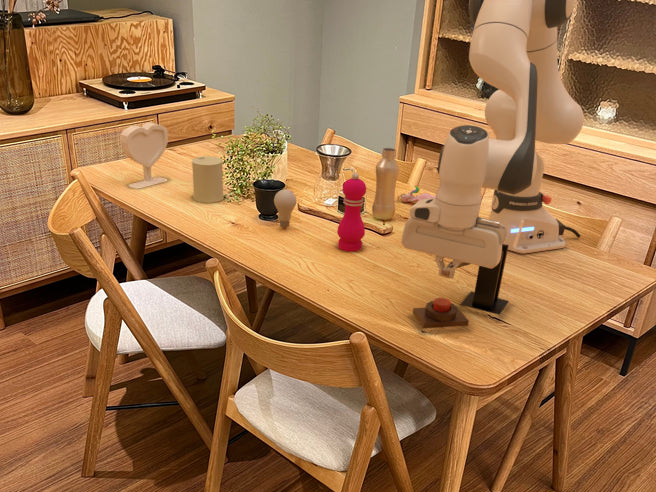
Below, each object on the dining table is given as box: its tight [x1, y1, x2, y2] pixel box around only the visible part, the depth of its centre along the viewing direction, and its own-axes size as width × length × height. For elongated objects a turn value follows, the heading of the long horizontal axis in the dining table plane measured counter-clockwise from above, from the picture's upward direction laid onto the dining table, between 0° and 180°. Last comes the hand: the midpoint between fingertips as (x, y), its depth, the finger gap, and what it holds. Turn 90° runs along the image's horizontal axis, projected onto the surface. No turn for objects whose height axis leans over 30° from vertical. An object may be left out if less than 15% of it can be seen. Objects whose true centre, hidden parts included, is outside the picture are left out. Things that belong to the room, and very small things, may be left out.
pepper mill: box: [336, 172, 367, 253], centre depth 181 cm, size 7×7×20 cm
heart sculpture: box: [119, 122, 169, 189], centre depth 220 cm, size 16×5×18 cm, turn 138°
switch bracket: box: [460, 244, 509, 316], centre depth 155 cm, size 9×8×15 cm
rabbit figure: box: [396, 185, 436, 203], centre depth 215 cm, size 6×6×15 cm
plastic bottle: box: [371, 147, 400, 221], centre depth 200 cm, size 6×7×20 cm
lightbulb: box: [273, 188, 297, 230], centre depth 193 cm, size 6×6×11 cm
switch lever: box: [445, 260, 471, 269], centre depth 155 cm, size 13×6×2 cm
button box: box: [412, 300, 469, 334], centre depth 151 cm, size 10×7×4 cm
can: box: [191, 155, 225, 204], centre depth 212 cm, size 9×9×12 cm
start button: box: [433, 297, 452, 312], centre depth 149 cm, size 4×4×2 cm
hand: (446, 276), depth 146 cm, fingers closed
